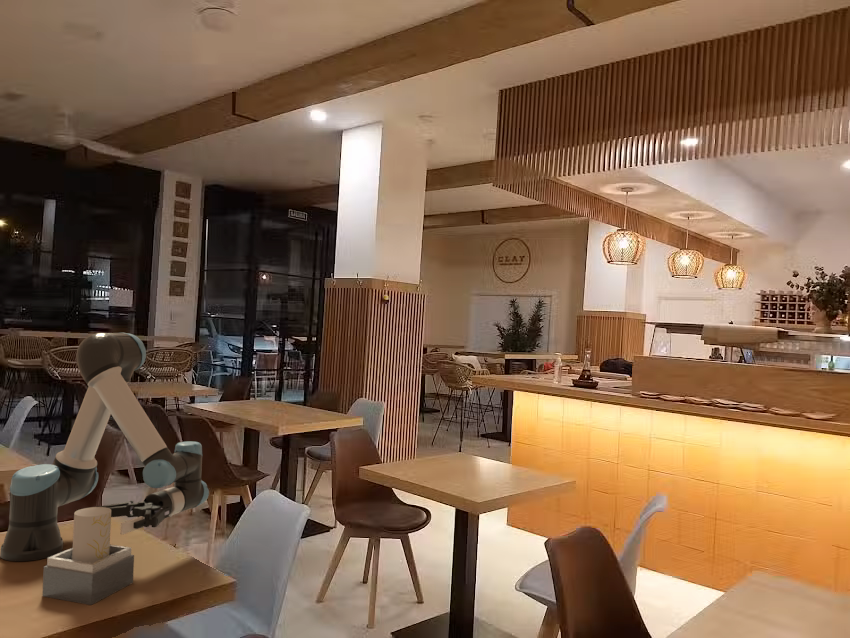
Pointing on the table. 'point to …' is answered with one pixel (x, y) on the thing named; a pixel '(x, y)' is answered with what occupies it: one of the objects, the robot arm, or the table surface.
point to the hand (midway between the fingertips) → (100, 524)
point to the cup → (91, 534)
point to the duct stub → (87, 576)
